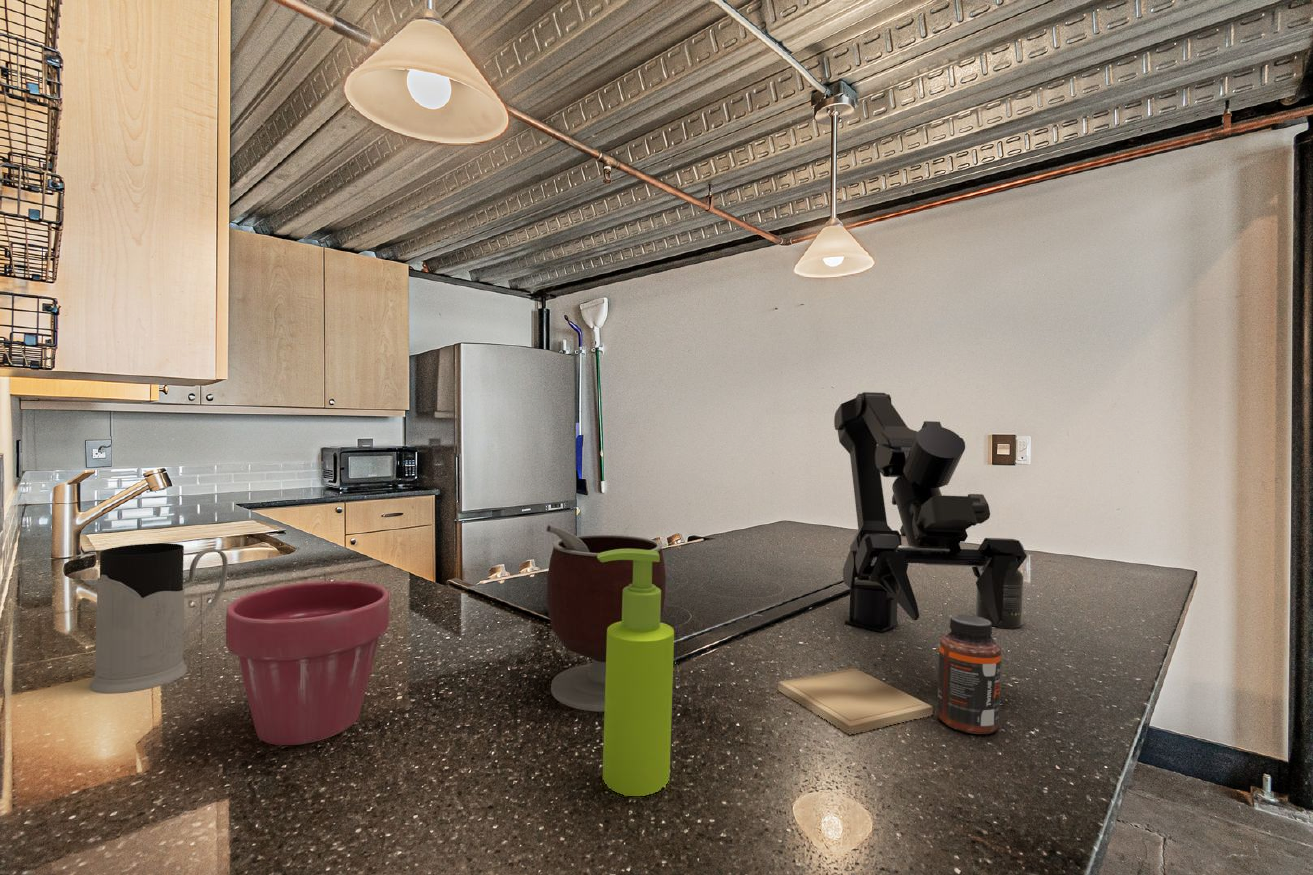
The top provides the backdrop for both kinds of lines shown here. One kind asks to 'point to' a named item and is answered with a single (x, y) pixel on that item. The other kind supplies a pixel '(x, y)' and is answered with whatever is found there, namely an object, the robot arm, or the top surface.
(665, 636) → the soap dispenser
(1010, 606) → the supplement bottle
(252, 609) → the plant pot
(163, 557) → the glass holder
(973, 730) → the supplement bottle
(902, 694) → the coaster
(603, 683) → the mate gourd
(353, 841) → the top surface
